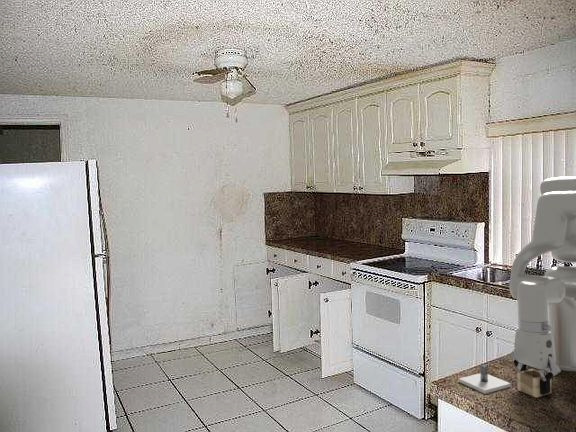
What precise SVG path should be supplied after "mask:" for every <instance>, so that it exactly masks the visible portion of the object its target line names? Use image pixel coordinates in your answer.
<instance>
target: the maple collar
mask: <svg viewBox="0 0 576 432" xmlns="http://www.w3.org/2000/svg"><path fill="white" fill-rule="evenodd" d="M545 375H546V372H545ZM516 376H517V377H516V378H517V380H516V381H517V391H519V392H522V393H524V394H526V395H529V396H531V397H534V398H540V397H543V396H546V395H549V394H552V379H550V393H548V394H544V395H542V394H540V380H542V378H541V375H540V372H539V371H538V370H535V369H528V370H524V371H521V372H518V371H517V375H516Z"/></svg>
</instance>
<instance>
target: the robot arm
mask: <svg viewBox="0 0 576 432" xmlns="http://www.w3.org/2000/svg"><path fill="white" fill-rule="evenodd" d="M539 189H540V190H539V191H540V195H539V197H538V199H537V204H536V210H535V211H536V212H535V217H534V226H533V231H532V239H531V240H530V242H529V243H528V244H526V245H525V246H524V247H523V248H521V250H520V251H519V252H518V254H517V255H516V257H515V258H514V260H513V262H512V265H511V269H510V270H511V271H510V278H509V292H510V295H511V296H512V297H513V298H514V299H516V300H517V327H516V330H515V336H514V349H513V351H512V352H510V353H509V358H510V359H511V360H512V362H513V364H514V365H515V367H516V371H517V372H521V371H524V370H526V369H527V367H528V366H530V367H533V368H536V369H539V372H540V375H541V378H542V380H540V394H542V395H544V394H547V395H549V394H548V393H550V379H551V380H552V379H553V378H555V377H556V376H557V375H559V374H560V373H561V371H565V372H576V266H565V265H564V266H562V265H561V266H560V265H558V266H552V267H549V268H548V269H546V271H545V273H544V275H536V274H535V275H534V274H525V271H526V269H527V267H528V265H529V264H530V263H531V262H532V261H533V260H534V259H536V258H538V257H539V256H542V255H545V254H547V253H550V252H551V256H552V258H553V259H554V260H555V261H558V262H560V263H561V262H563V263H572V264H576V176H558V177H551V178H546V179H544V180H542V182H541V183H540V186H539ZM550 369H551V370H550ZM544 371H545V372H544ZM545 373H546V375H545ZM550 394H551V393H550ZM544 396H545V395H544Z"/></svg>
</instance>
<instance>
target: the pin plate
mask: <svg viewBox="0 0 576 432" xmlns="http://www.w3.org/2000/svg"><path fill="white" fill-rule="evenodd" d="M488 368H489V367H488V365H487V364H480V372H479V373H475V374H472V375H468V376H464V377H460V378H458V383H460V384H463V385H465V386H467V387H468V388H472V389H474V390H476V391H477V392H480V393H483V394H484V395H486V394H490V393H494V392H498V391H500V390H504V389H505V390H506V389H508V388H511V386H512V383H511V382H509V381H507V380H503V379H501V378H498V377H495V376H493V375H491V374H489V371H488Z"/></svg>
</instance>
